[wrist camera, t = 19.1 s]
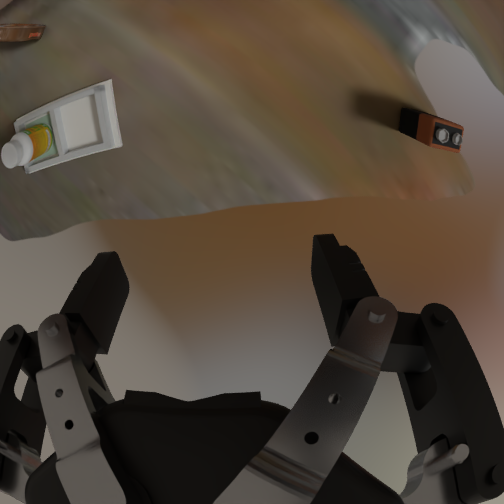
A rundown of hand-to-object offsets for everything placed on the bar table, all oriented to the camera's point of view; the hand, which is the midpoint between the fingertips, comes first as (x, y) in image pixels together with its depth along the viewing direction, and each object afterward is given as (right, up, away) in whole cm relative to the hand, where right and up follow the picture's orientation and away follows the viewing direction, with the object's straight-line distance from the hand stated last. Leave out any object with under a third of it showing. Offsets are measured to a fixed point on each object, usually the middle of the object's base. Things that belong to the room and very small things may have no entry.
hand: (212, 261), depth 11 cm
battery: (+28, +22, +26) cm, 44 cm away
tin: (-37, +38, +11) cm, 54 cm away
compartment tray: (-29, +20, +23) cm, 43 cm away
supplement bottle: (-33, +20, +23) cm, 45 cm away
